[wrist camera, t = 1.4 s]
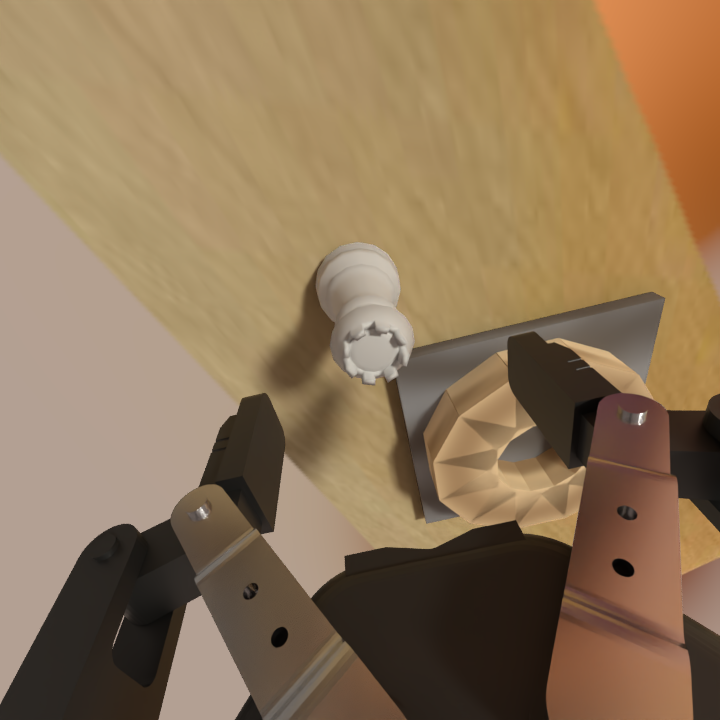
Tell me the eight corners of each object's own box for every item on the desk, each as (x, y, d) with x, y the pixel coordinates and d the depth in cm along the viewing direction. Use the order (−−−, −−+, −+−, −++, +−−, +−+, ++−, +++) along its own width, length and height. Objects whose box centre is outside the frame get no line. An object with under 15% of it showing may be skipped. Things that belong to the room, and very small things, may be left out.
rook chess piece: (377, 328, 22) (404, 416, 15) (304, 304, 21) (297, 388, 14) (411, 257, 20) (458, 323, 13) (332, 226, 19) (339, 280, 12)
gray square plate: (390, 353, 23) (401, 388, 20) (652, 291, 22) (704, 317, 19) (423, 512, 31) (434, 554, 28) (614, 470, 31) (646, 508, 28)
